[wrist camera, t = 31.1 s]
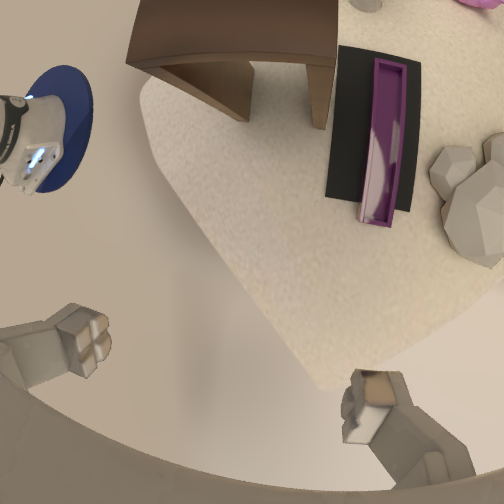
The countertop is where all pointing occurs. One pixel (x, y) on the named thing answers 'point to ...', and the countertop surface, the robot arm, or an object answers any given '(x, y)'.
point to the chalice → (367, 5)
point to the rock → (473, 200)
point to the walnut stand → (236, 47)
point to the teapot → (483, 3)
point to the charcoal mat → (356, 125)
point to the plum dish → (383, 143)
